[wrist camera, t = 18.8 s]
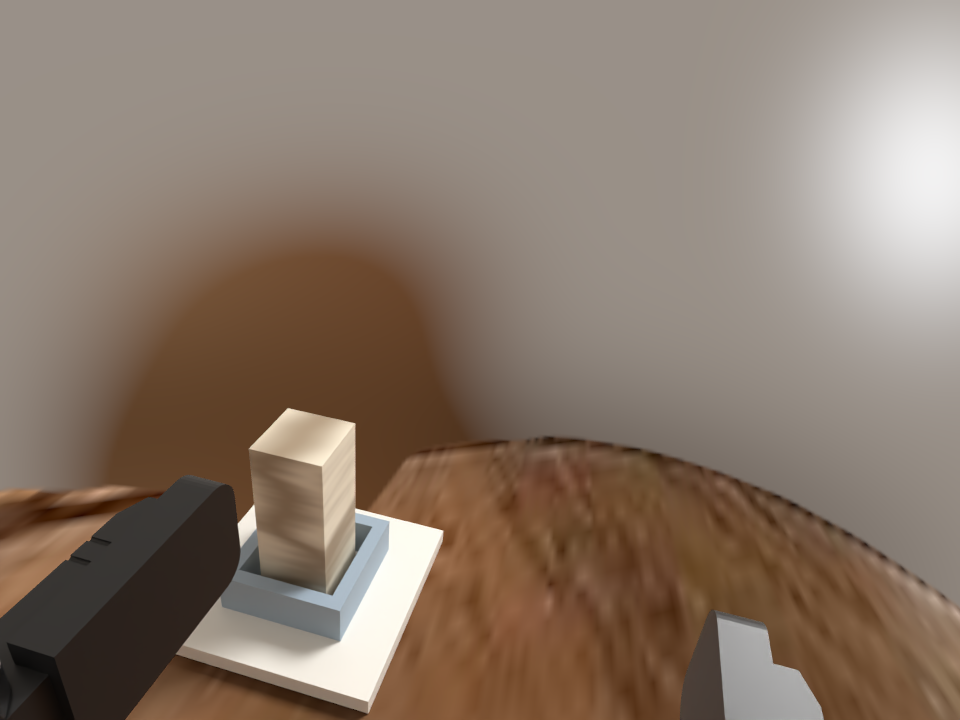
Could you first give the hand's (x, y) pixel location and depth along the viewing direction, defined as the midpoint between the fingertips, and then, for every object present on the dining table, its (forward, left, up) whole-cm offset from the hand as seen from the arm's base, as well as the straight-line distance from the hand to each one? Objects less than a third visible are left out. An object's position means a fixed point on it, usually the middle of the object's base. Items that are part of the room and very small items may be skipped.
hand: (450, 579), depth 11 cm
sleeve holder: (-1, -29, -32) cm, 44 cm away
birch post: (-1, -29, -31) cm, 43 cm away
